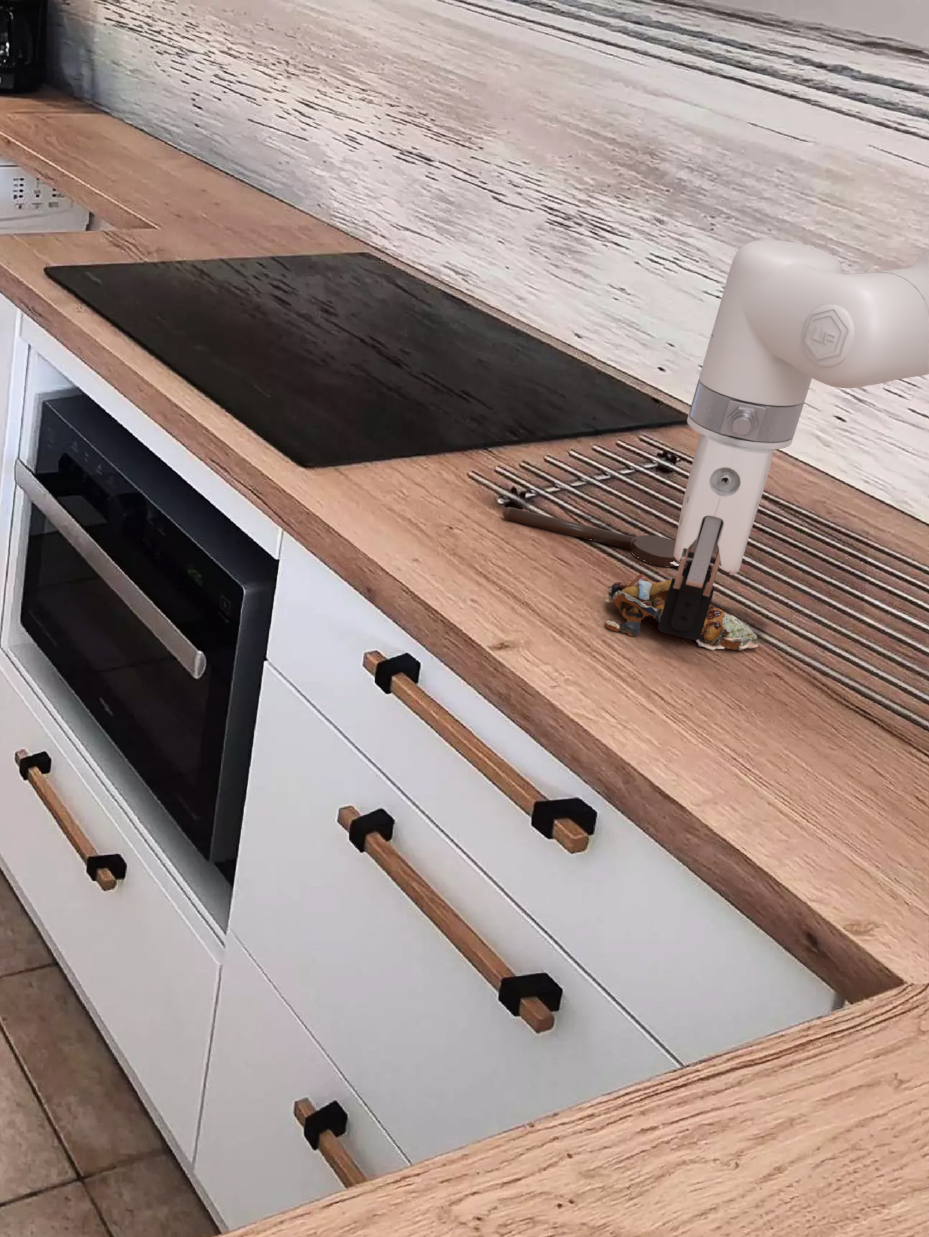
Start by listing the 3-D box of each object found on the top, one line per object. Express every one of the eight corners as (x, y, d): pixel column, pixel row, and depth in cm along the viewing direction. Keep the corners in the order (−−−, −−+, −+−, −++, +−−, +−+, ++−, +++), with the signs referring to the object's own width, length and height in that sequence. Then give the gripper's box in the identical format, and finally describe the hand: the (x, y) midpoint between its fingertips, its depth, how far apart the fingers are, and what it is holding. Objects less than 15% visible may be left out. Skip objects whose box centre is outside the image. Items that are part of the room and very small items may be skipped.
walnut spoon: (688, 553, 152) (691, 541, 151) (682, 572, 148) (685, 560, 147) (506, 509, 157) (509, 497, 157) (496, 526, 153) (498, 514, 153)
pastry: (759, 660, 134) (772, 620, 132) (604, 631, 136) (615, 591, 134) (749, 623, 140) (762, 584, 138) (601, 596, 142) (611, 557, 140)
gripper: (793, 454, 118) (720, 684, 126) (801, 396, 130) (734, 609, 138) (682, 430, 120) (618, 657, 128) (700, 375, 132) (641, 585, 141)
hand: (678, 631), depth 133 cm, fingers closed
